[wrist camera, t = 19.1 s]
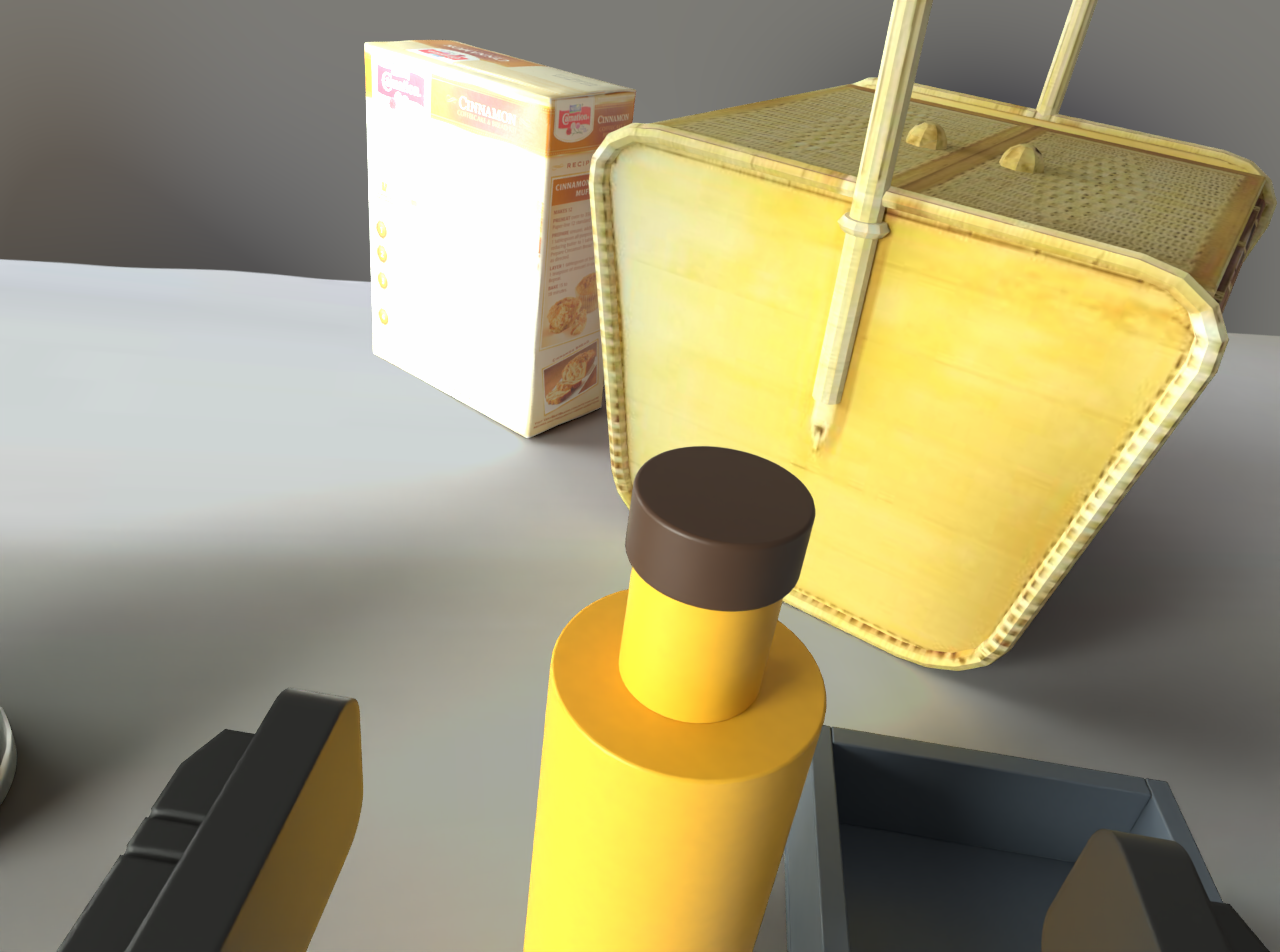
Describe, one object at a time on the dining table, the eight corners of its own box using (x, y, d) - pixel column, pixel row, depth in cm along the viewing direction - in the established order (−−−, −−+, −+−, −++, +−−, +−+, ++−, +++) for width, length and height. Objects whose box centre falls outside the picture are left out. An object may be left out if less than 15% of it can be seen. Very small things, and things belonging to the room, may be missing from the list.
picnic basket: (786, 356, 72) (887, -106, 56) (1144, 487, 61) (1394, -41, 45) (542, 515, 50) (596, -163, 35) (1029, 762, 39) (1430, -64, 24)
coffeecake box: (605, 408, 61) (642, 88, 51) (526, 443, 56) (549, 96, 46) (450, 329, 69) (455, 36, 59) (368, 354, 64) (358, 38, 54)
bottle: (475, 1027, 28) (506, 457, 18) (628, 921, 31) (728, 392, 21) (596, 1215, 24) (721, 637, 14) (753, 1072, 28) (946, 524, 18)
